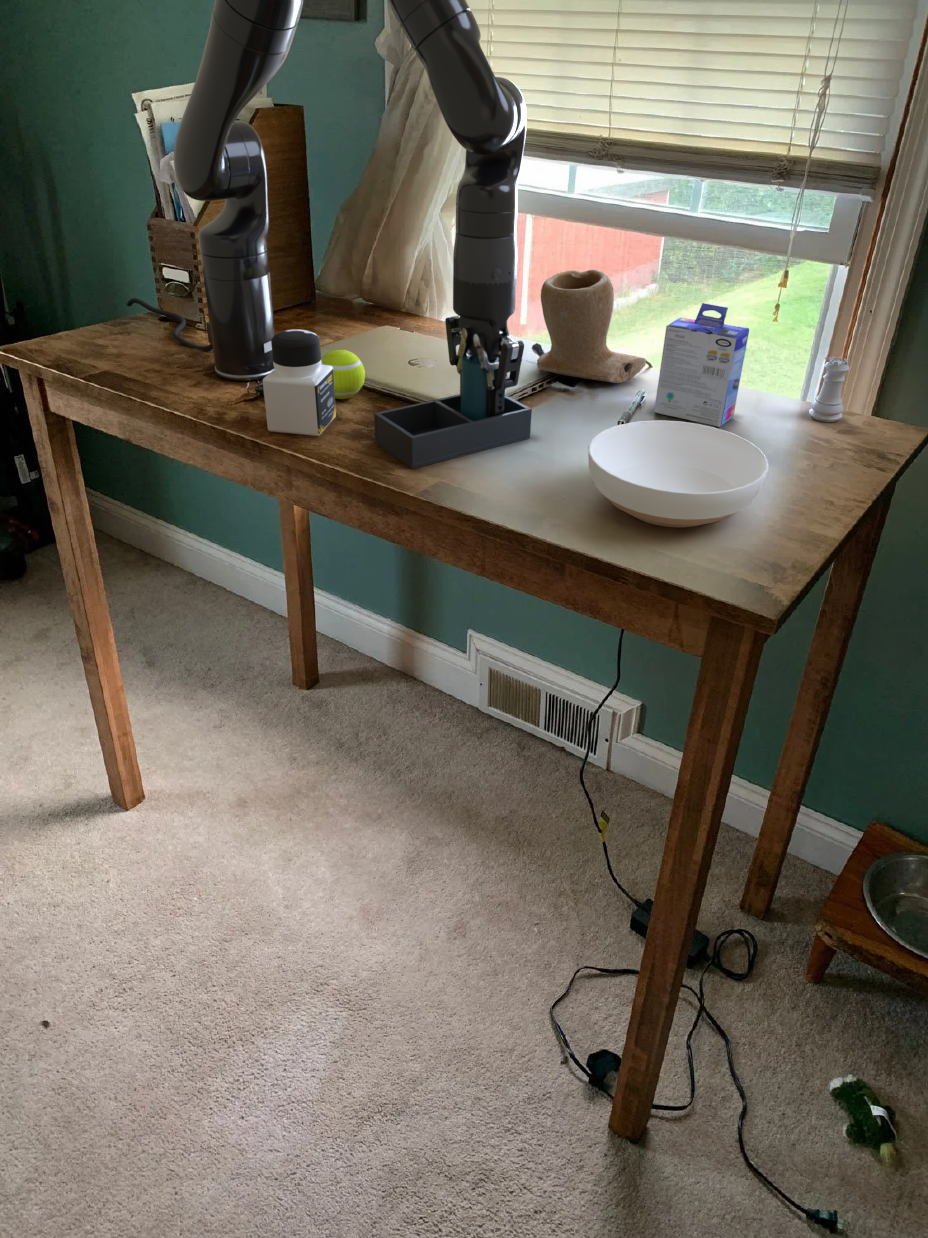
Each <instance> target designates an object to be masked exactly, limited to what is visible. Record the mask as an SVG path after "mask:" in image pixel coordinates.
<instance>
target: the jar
mask: <svg viewBox="0 0 928 1238" xmlns="http://www.w3.org/2000/svg"><path fill="white" fill-rule="evenodd" d="M498 360H499V357H497V358H496V359H492V360H488V362H489V363H496V362H498ZM497 372H498V369H494V370H493V373H494V379H496V378H497ZM487 389H488V387H487V382H486V377H485V372H484V371H482V370H481V368H480V363H479V359H478V358H477V357H476V356H471V355H468V356H463V357H462V373H461V414H462V415H464V416H465V417H467V418H469V419H470V420H472V421H476V420H480V419H485V418H489V417H488V416H486V397H487Z"/></svg>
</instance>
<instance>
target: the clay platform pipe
mask: <svg viewBox="0 0 928 1238" xmlns="http://www.w3.org/2000/svg"><path fill="white" fill-rule="evenodd" d="M614 302H615V288H614V285H613V283H612V280H611V278H610V276H609V275H608V274H607V273H606V272H603V271H601V270H598V269H588V270H585V271H579V270H565V271H561V272H558V273H556V274H553V275H552V276H550V277H548V278H546V279H545V281H544V282H543V284H542V286H541V289H540V303H541V310H542V316H543V320H544V324H545V326H546V329H547V333H548V335H549V338H550V344H551V345H550V350H549V351H547V352H544V353H542V354H541V355H540V356H539V357H537V361H536V366H537V367H538V368H539V369H540V370H542V371H544V372H548V373H552V374H557V375H560V376H561V375H562V376H567V377H573V378H579V379H586V380H591V381H592V380H593V381H600V382H606V383H615V384H622V383H625V382H628V381H629V380H631V379H632V378H634V377H635V376H637V374H639V373H640V372H641V371H642V370H643V369H644V368H645V366H646V365H647V360H646V358H645V357H641V356H636V355H630V354H626V353H621V352H616V351H612V350H610V349H609V347H608V345H607V339H608V333H609V330H610V324H611V322H612V317H613V312H614V305H615V304H614Z"/></svg>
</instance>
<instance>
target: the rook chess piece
mask: <svg viewBox="0 0 928 1238" xmlns="http://www.w3.org/2000/svg"><path fill="white" fill-rule="evenodd" d="M823 366H824V369H825V374H824V375H823V376H822V377H823V382H822V386H821V389H820V392H819V393H818V395H817V396H816V397H815V399H814V400H813V401H812V402H811V403H810V407H811V408H810V409H809V410H808V412H809V416H810V417H811V418H812V419H814V420H816V421H818V422H822V423H835V422H838V421H839V420H841V419H842V418H843V414H842V412H843V411H844V409H845V406H844V404H843V403H842V402H843V400H842V389H843V383H844V382H845V380H846V378H845V375H846V373H847V372H848V371H849V370H850V368H851V367H849V359H848V358H843V357H842V356H838V359H837V357H836V356H831V357H828V359H827V362H825V364H823Z"/></svg>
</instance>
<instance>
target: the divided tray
mask: <svg viewBox="0 0 928 1238" xmlns="http://www.w3.org/2000/svg"><path fill="white" fill-rule="evenodd" d="M504 403H505V404H504V412H503V414H501V415H497V416H493V417H489V418H485V419H480V420H476V421H472V420H470V419H469V418H467V417H465V416H464V415H462V414H461V401H460V393H459V394H453V395H450V396H446V397H442V398H436V399H432V400H428V401H423V402H419V403H415V404H411V405H410V404H409V405H405V406H400V407H397V408H392V409H388V410H383V411H378V412H374V413H373V421H374V422H373V425H374V444H376V445H377V446H379V447H380V448H382V449H383V450H384V451H386V452H387V453H389V454H390V455H391V456H393V457H394V458H396V459H397V460H399V461H400V462H401V463H403V464H405V465H406V466H407V467H409V468H410V469H412V470H414V469H418V468H422V467H427V466H429V465H433V464H437V463H440V462H444V461H445V462H446V461H449V460H452V459H453V460H454V459H456V458H461V457H464V456H468V455H471V454H475V453H480V452H483V451H486V450H487V451H488V450H491V449H494V448H498V447H503V446H507V445H511V444H513V443H518V442H521V441H526V440H529V439H531V433H532V432H531V431H532V415H533V413H532V412H533V410H532V408H531V407H529V406H527V405H525V404H523V403H521V402H520V401H518V400H515V399H514V398H511V397H510V396H508V395H506V394H505V402H504Z"/></svg>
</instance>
